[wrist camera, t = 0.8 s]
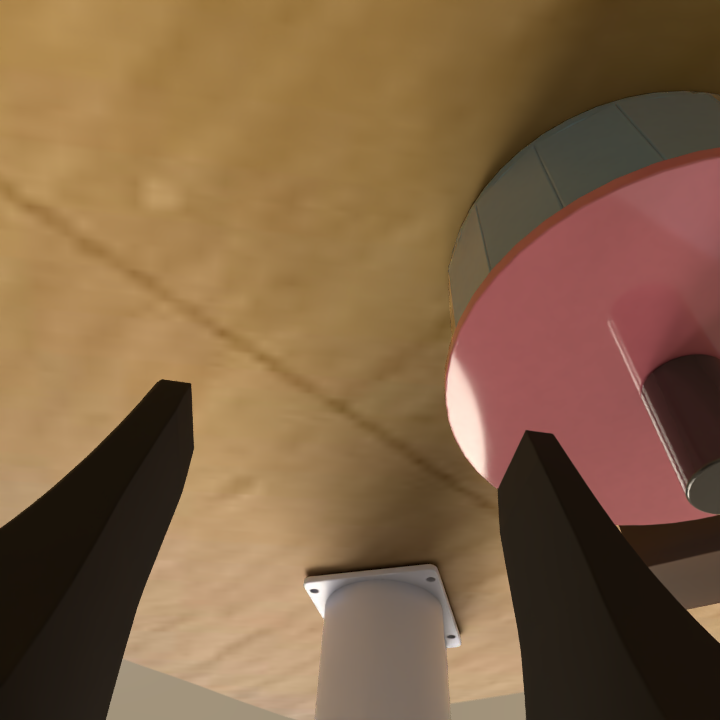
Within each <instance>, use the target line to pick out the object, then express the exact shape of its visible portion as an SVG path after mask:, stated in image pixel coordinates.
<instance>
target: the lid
mask: <svg viewBox="0 0 720 720" xmlns="http://www.w3.org/2000/svg"><path fill="white" fill-rule="evenodd" d="M444 396H445V404H446V410H447V417H448V421H449V424H450V427H451V430H452V433H453V436H454V439H455V440H456V442H457V444H458V446H459V448H460V449H461V451H462V453H463V455H464V456H465V458H466V459H467V460H468V461H469V462H470V464H471V465H472V466H473V467H474V469H475V470H476V471H477V472H478V473H479V474H480V475H481V476H482V477H483V478H485V479H486V480H487V481H488V482H489V483H490V484H491V485H492V486H494V487H495V488H497V489H498V487H499V485H500V483H501V481H502V479H503V477H504V475H505V473H506V470H507V468H508V466H509V464H510V462H511V460H512V458H513V456H514V454H515V452H516V449H517V447H518V445H519V443H520V441H521V439H522V437H523V435H524V433H525V430H530V431H537V432H544V433H552V434H554V436H555V437H556V439H557V440H558V442H559V443H560V445H561V446H562V448H563V449H564V451H565V452H566V454H567V455H568V457H569V458H570V460H571V461H572V463H573V464H574V466H575V467H576V469H577V470H578V472H579V473H580V475H581V476H582V478H583V479H584V481H585V482H586V484H587V485H588V487H589V488H590V490H591V491H592V493H593V494H594V496H595V497H596V499H597V500H598V502H599V503H600V504H601V506H602V507H603V509H604V510H605V511H606V513H607V514H608V516H609V517H610V518H611V520H612V521H613V523H614V524H615V525H655V524H668V523H677V522H683V521H690V520H697V519H702V518H707V517H712V516H716V515H720V147H719V148H713V149H707V150H701V151H696V152H693V153H689V154H685V155H682V156H678V157H675V158H671V159H668V160H664V161H660V162H657V163H654V164H651V165H649V166H646V167H644V168H641V169H639V170H636V171H634V172H631V173H629V174H626V175H624V176H621V177H619V178H616V179H614V180H612V181H610V182H608V183H606V184H605V185H603V186H601V187H599V188H597V189H595V190H593V191H591V192H589V193H587V194H585V195H583V196H581V197H580V198H578V199H576V200H575V201H573V202H572V203H570V204H569V205H567V206H566V207H564V208H563V209H561V210H560V211H558V212H557V213H555V214H554V215H552V216H551V217H549V218H548V219H546V220H545V221H543V222H542V223H541V224H540V225H539V226H537V227H536V228H535V229H534V230H533V231H531V232H530V233H529V234H528V235H527V236H525V237H524V238H523V239H522V240H521V241H519V242H518V243H517V244H516V245H515V246H514V247H513V248H512V249H511V250H510V251H509V252H508V253H507V254H506V255H505V256H504V257H503V258H502V259H501V261H500V262H499V263H498V264H497V265H496V266H495V267H494V268H493V269H492V270H491V271H490V273H489V274H488V275H487V277H486V278H485V280H484V281H483V282H482V284H481V285H480V286H479V288H478V289H477V290H476V292H475V293H474V294H473V296H472V298H471V299H470V301H469V303H468V305H467V307H466V308H465V310H464V312H463V314H462V316H461V317H460V319H459V321H458V324H457V327H456V329H455V332H454V335H453V337H452V340H451V342H450V345H449V350H448V355H447V360H446V365H445V376H444Z"/></svg>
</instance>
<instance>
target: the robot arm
mask: <svg viewBox="0 0 720 720" xmlns="http://www.w3.org/2000/svg"><path fill="white" fill-rule="evenodd" d="M193 450H194V439H193V416H192V392H191V383H185V382H177V381H170V380H163V379H162V380H160V381H159V382H157V383H156V384H155V385H154V386H153V388H152V389H151V390H150V391H149V392H148V393H147V395H146V396H145V397H144V398H143V399H142V400H141V401H140V403H139V404H138V405H137V406H136V407H135V408H134V409H133V410H132V411H131V412H130V414H129V415H128V416H127V417H126V418H125V419H124V420H123V421H122V422H121V423H120V424H119V425H118V426H117V427H116V428H115V429H114V430H113V431H112V432H111V433H110V434H109V435H108V436H107V437H106V438H105V439H104V440H103V441H102V442H101V443H100V444H99V445H98V446H97V447H96V448H95V449H94V450H93V451H92V452H91V453H90V454H89V455H88V456H87V457H86V458H85V459H84V460H83V461H82V462H80V463H79V464H78V465H77V466H76V467H75V468H74V469H73V470H72V471H70V472H69V473H68V474H67V475H66V476H65V477H64V478H63V479H62V480H61V481H59V482H58V483H57V484H56V485H55V486H54V487H52V488H51V489H50V490H49V491H48V492H46V493H45V494H44V495H43V496H42V497H40V498H39V499H38V500H37V501H35V502H34V503H33V504H32V505H30V506H29V507H28V508H27V509H25V510H24V511H23V512H21V513H20V514H19V515H18V516H16V517H15V518H14V519H12V520H11V521H10V522H8V523H7V524H5V525H4V526H3V527H1V528H0V720H106V717H107V713H108V709H109V705H110V701H111V698H112V694H113V690H114V687H115V684H116V680H117V676H118V673H119V669H120V666H121V662H122V658H123V655H124V651H125V648H126V644H127V641H128V638H129V634H130V631H131V627H132V624H133V620H134V617H135V614H136V610H137V607H138V604H139V601H140V598H141V596H142V593H143V590H144V587H145V585H146V582H147V580H148V577H149V575H150V572H151V570H152V567H153V565H154V562H155V560H156V557H157V555H158V552H159V550H160V547H161V545H162V542H163V540H164V537H165V535H166V532H167V530H168V527H169V525H170V522H171V520H172V517H173V515H174V512H175V509H176V507H177V504H178V502H179V499H180V497H181V494H182V491H183V488H184V484H185V480H186V477H187V473H188V469H189V466H190V462H191V458H192V454H193ZM498 506H499V524H500V535H501V541H502V547H503V552H504V558H505V564H506V569H507V575H508V580H509V585H510V591H511V596H512V601H513V607H514V612H515V618H516V623H517V628H518V635H519V642H520V649H521V658H522V670H523V682H524V694H525V708H526V720H720V643H719V642H718V641H717V640H716V639H715V638H714V637H712V636H711V635H710V634H709V633H708V632H707V631H706V630H705V629H704V628H703V627H702V626H701V625H700V624H699V623H698V622H697V621H696V620H695V619H694V618H693V616H692V615H691V614H690V613H689V612H688V611H687V610H686V609H685V608H684V607H683V606H682V605H681V604H680V603H679V602H678V600H677V599H676V598H675V597H674V596H673V595H672V594H671V593H670V592H669V590H668V589H667V588H666V587H665V586H664V585H663V584H662V583H661V582H660V580H659V579H658V578H657V577H656V576H655V575H654V573H653V572H652V571H651V570H650V569H649V568H648V566H647V565H646V564H645V563H644V561H643V560H642V559H641V558H640V556H639V555H638V554H637V553H636V551H635V550H634V549H633V548H632V546H631V545H630V544H629V542H628V541H627V540H626V539H625V537H624V536H623V535H622V533H621V532H620V531H619V529H618V528H617V527H616V525H615V524H614V523H613V521H612V520H611V518H610V517H609V516H608V514H607V513H606V511H605V510H604V509H603V507H602V506H601V504H600V503H599V502H598V500H597V499H596V497H595V496H594V494H593V493H592V491H591V490H590V488H589V487H588V485H587V484H586V482H585V481H584V479H583V478H582V476H581V475H580V473H579V472H578V470H577V469H576V467H575V466H574V464H573V463H572V461H571V460H570V458H569V457H568V455H567V454H566V452H565V451H564V449H563V448H562V446H561V445H560V443H559V442H558V440H557V439H556V437H555V436H554V434H552V433H544V432H537V431H530V430H525V433H524V435H523V437H522V439H521V441H520V443H519V445H518V447H517V449H516V452H515V454H514V456H513V458H512V460H511V462H510V464H509V466H508V468H507V470H506V473H505V475H504V477H503V479H502V481H501V483H500V485H499V487H498ZM304 588H305V589H306V591H307V593H308V594H309V596H310V598H311V599H312V601H313V603H314V604H315V606H316V608H317V609H318V611H319V612H320V614H321V616H322V617H323V619H324V624H323V634H322V645H321V656H320V666H319V677H318V688H317V698H316V709H315V720H451V711H450V696H449V680H448V665H447V649H446V648H452V647H458V646H460V645H461V637H460V634H459V631H458V628H457V625H456V622H455V619H454V616H453V613H452V610H451V607H450V604H449V601H448V598H447V595H446V592H445V589H444V586H443V583H442V580H441V577H440V574H439V571H438V568H437V567H436V566H434V565H432V564H424V565H415V566H405V567H396V568H386V569H377V570H367V571H358V572H348V573H339V574H329V575H320V576H310V577H307V578H305V580H304Z"/></svg>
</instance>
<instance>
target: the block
mask: <svg viewBox="0 0 720 720" xmlns="http://www.w3.org/2000/svg"><path fill="white" fill-rule="evenodd" d="M619 527H620V530H621V533H622V535H623V536H624V537H625V539H626V540H627V541H628V542H629V544H630V545H631V546H632V548H633V549H634V550H635V551H636V553H637V554H638V555H639V556H640V558H641V559H642V560H643V561H644V563H645V564H646V565H647V566H648V568H649V569H650V570H651V571H652V572H653V573H654V575H655V576H656V577H657V578H658V579H659V580H660V582H661V583H662V584H663V585H664V586H665V587H666V588H667V589H668V590H669V592H670V593H671V594H672V595H673V596H674V597H675V598H676V599H677V600H678V602H679V603H680V604H681V605H682V606H683V607H684V608H685V609H686V610H687V609H692V608H697V607H702V606H707V605H711V604H716V603H720V515H716V516H712V517H707V518H702V519H697V520H690V521H683V522H677V523H668V524H655V525H619Z"/></svg>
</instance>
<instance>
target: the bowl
mask: <svg viewBox="0 0 720 720" xmlns="http://www.w3.org/2000/svg"><path fill="white" fill-rule="evenodd" d="M719 147H720V95H717V94H713V93H703V92H691V91H674V92H656V93H650V94H644V95H639V96H633V97H628V98H624V99H621V100H617V101H614V102H611V103H608V104H604V105H601V106H598V107H595V108H593V109H591V110H588V111H586V112H584V113H582V114H579V115H577V116H575V117H572V118H570V119H568V120H567V121H565V122H563V123H561V124H560V125H558V126H556V127H554V128H553V129H551V130H549V131H548V132H546V133H544V134H543V135H541V136H540V137H539V138H537V139H536V140H535V141H533V142H532V143H530V144H529V145H528V146H526V147H525V148H524V149H522V150H521V151H520V152H519V153H518V154H517V155H516V156H514V157H513V158H512V159H511V160H510V161H509V162H508V163H507V164H506V165H505V166H504V167H503V168H501V169H500V171H499V172H498V173H497V174H496V175H495V176H494V178H493V179H492V180H491V181H490V182H489V183H488V185H487V186H486V187H485V188H484V189H483V191H482V192H481V194H480V195H479V197H478V198H477V200H476V201H475V203H474V204H473V206H472V207H471V209H470V211H469V213H468V215H467V217H466V219H465V221H464V223H463V225H462V227H461V229H460V231H459V234H458V237H457V240H456V243H455V246H454V248H453V252H452V257H451V262H450V264H449V270H448V278H449V287H448V290H449V300H450V323H451V331H452V337H453V335H454V332H455V329H456V327H457V324H458V321H459V319H460V317H461V316H462V314H463V312H464V310H465V308H466V307H467V305H468V303H469V301H470V299H471V298H472V296H473V294H474V293H475V292H476V290H477V289H478V288H479V286H480V285H481V284H482V282H483V281H484V280H485V278H486V277H487V275H488V274H489V273H490V271H491V270H492V269H493V268H494V267H495V266H496V265H497V264H498V263H499V262H500V261H501V259H502V258H503V257H504V256H505V255H506V254H507V253H508V252H509V251H510V250H511V249H512V248H513V247H514V246H515V245H516V244H517V243H518V242H519V241H521V240H522V239H523V238H524V237H525V236H527V235H528V234H529V233H530V232H531V231H533V230H534V229H535V228H536V227H537V226H539V225H540V224H541V223H542V222H543V221H545V220H546V219H548V218H549V217H551V216H552V215H554V214H555V213H557V212H558V211H560V210H561V209H563V208H564V207H566V206H567V205H569V204H570V203H572V202H573V201H575V200H576V199H578V198H580V197H581V196H583V195H585V194H587V193H589V192H591V191H593V190H595V189H597V188H599V187H601V186H603V185H605V184H606V183H608V182H610V181H612V180H614V179H616V178H619V177H621V176H624V175H626V174H629V173H631V172H634V171H636V170H639V169H641V168H644V167H646V166H649V165H651V164H654V163H657V162H660V161H664V160H668V159H671V158H675V157H678V156H682V155H685V154H689V153H693V152H696V151H701V150H707V149H713V148H719Z"/></svg>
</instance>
